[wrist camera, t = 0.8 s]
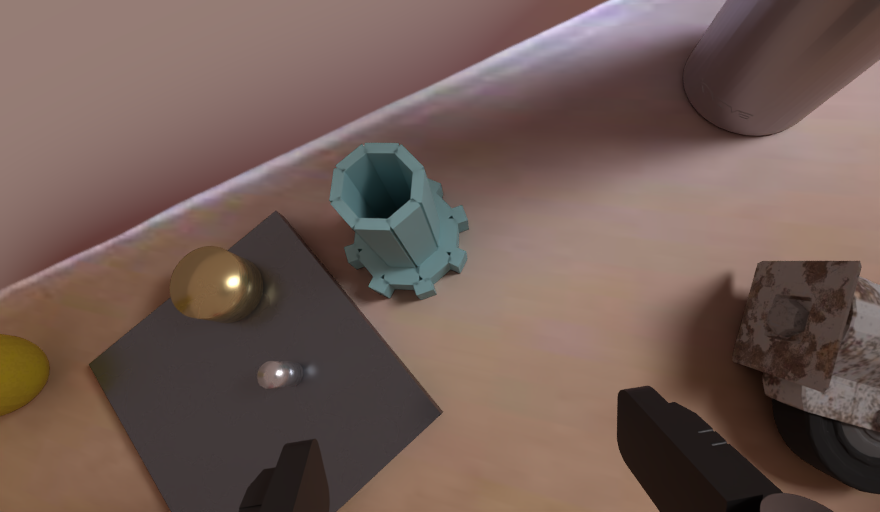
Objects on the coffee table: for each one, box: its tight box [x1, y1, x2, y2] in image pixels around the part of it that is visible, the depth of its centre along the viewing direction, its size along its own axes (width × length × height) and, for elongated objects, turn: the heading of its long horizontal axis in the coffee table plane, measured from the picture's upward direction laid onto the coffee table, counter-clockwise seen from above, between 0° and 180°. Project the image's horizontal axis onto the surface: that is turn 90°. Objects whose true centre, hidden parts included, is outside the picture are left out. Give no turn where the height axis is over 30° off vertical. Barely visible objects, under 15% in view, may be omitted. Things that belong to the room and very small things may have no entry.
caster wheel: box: [733, 261, 880, 494], centre depth 23 cm, size 7×11×10 cm
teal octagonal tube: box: [329, 143, 469, 300], centre depth 26 cm, size 9×9×10 cm
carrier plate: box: [89, 211, 443, 512], centre depth 27 cm, size 17×19×4 cm
